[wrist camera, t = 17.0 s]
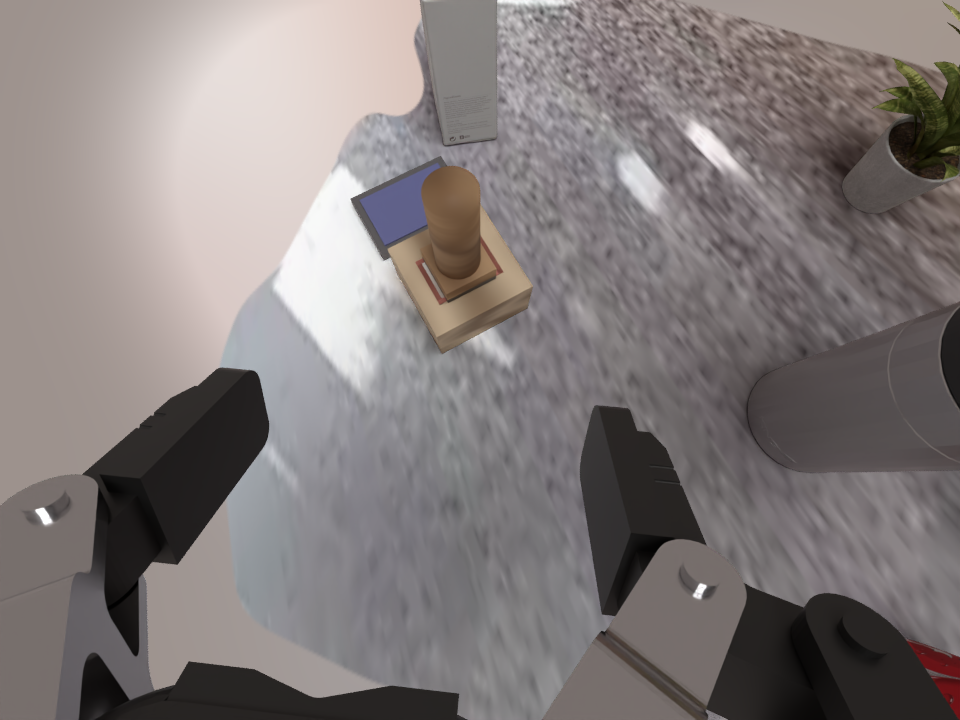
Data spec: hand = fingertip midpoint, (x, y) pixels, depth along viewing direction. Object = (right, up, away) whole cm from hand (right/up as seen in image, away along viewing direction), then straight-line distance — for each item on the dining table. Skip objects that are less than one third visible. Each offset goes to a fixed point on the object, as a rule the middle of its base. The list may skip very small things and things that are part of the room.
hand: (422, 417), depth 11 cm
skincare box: (0, +28, +37) cm, 46 cm away
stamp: (0, +9, +27) cm, 28 cm away
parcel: (0, +8, +32) cm, 33 cm away
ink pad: (-5, +16, +34) cm, 38 cm away
